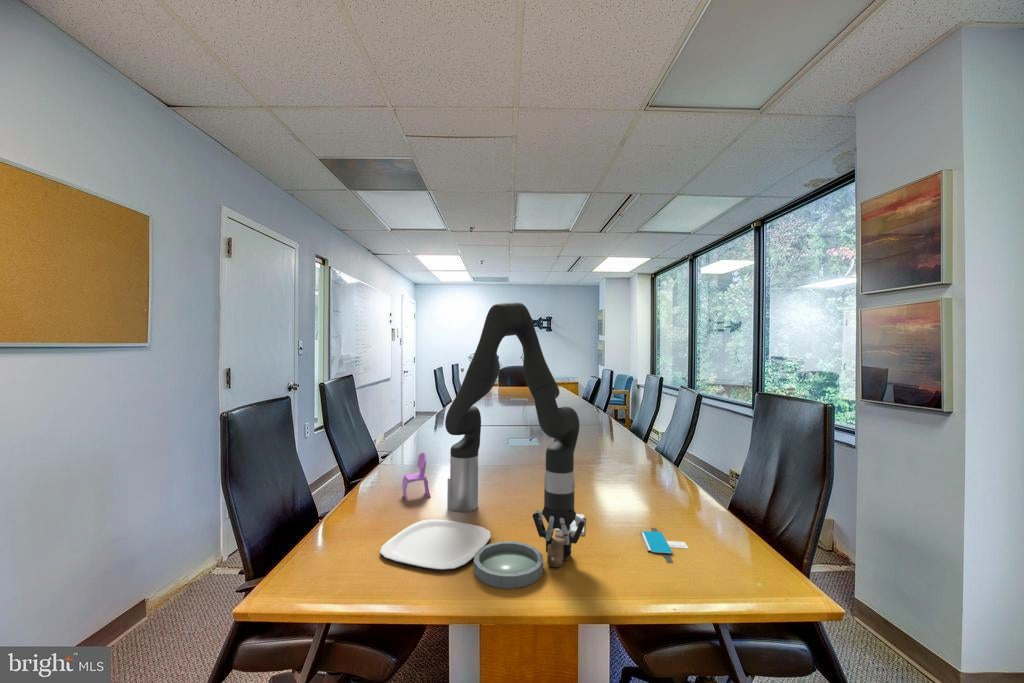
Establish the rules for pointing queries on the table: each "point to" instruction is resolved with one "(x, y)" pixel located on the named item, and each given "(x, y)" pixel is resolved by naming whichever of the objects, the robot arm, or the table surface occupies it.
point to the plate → (436, 544)
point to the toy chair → (417, 476)
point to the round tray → (508, 565)
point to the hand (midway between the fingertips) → (558, 555)
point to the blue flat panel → (660, 543)
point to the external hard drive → (574, 525)
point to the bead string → (556, 550)
